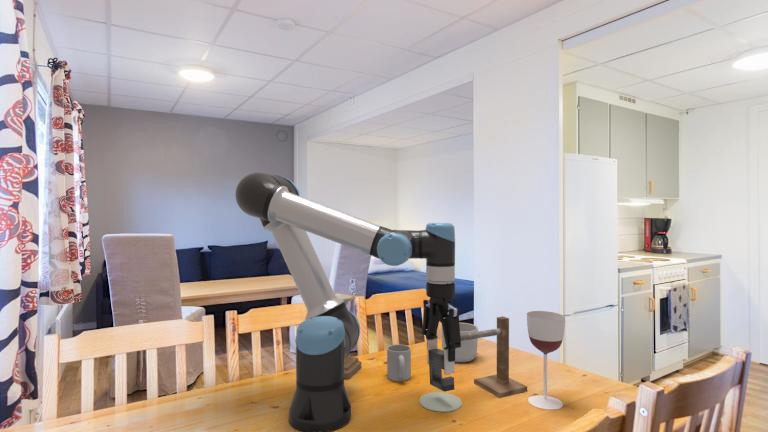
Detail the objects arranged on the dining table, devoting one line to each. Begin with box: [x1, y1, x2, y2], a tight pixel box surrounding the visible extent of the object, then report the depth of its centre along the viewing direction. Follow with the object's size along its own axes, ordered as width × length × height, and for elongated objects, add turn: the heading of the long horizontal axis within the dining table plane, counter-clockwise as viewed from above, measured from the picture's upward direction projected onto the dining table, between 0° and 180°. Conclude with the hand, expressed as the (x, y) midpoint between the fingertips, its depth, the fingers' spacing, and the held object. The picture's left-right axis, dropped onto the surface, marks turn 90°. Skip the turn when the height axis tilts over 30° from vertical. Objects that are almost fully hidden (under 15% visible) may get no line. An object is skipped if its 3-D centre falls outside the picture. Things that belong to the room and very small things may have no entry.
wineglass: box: [526, 310, 566, 410], centre depth 115 cm, size 9×10×23 cm
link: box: [428, 348, 456, 393], centre depth 115 cm, size 3×7×9 cm, turn 26°
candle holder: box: [334, 292, 362, 380], centre depth 137 cm, size 11×11×24 cm
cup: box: [386, 344, 412, 383], centre depth 131 cm, size 7×10×9 cm
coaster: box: [419, 391, 463, 413], centre depth 115 cm, size 11×11×1 cm
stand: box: [460, 316, 528, 399], centre depth 123 cm, size 20×11×20 cm, turn 116°
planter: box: [440, 322, 479, 363], centre depth 149 cm, size 12×12×11 cm
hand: (440, 368), depth 115 cm, fingers closed on link, 7 cm apart
